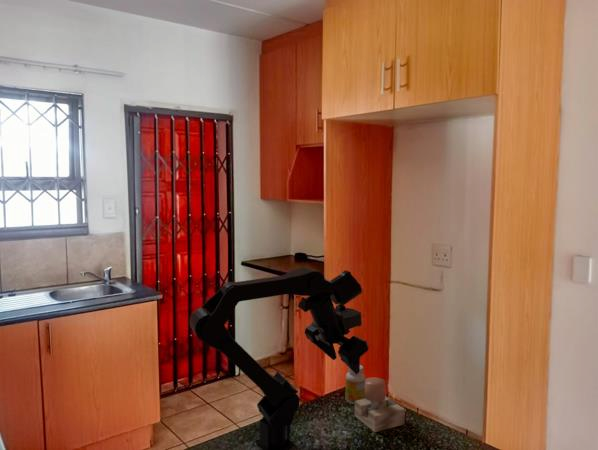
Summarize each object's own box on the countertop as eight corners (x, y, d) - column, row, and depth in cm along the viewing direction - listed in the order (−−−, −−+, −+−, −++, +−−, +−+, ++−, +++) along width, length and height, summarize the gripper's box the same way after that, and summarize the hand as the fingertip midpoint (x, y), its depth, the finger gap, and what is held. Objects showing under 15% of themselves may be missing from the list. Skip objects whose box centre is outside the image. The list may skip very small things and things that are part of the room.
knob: (371, 422, 115) (372, 387, 114) (360, 412, 120) (360, 379, 119) (388, 417, 117) (389, 383, 117) (376, 408, 122) (377, 376, 121)
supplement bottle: (341, 398, 131) (342, 364, 131) (357, 394, 134) (358, 361, 133) (351, 406, 127) (352, 371, 126) (368, 402, 129) (369, 368, 128)
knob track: (374, 432, 113) (375, 416, 113) (354, 415, 121) (354, 400, 121) (404, 424, 117) (404, 409, 117) (382, 408, 125) (383, 394, 125)
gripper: (374, 307, 106) (394, 359, 111) (327, 287, 122) (346, 334, 127) (338, 335, 101) (361, 389, 107) (294, 311, 117) (315, 359, 122)
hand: (345, 365), depth 116 cm, fingers open, 9 cm apart
